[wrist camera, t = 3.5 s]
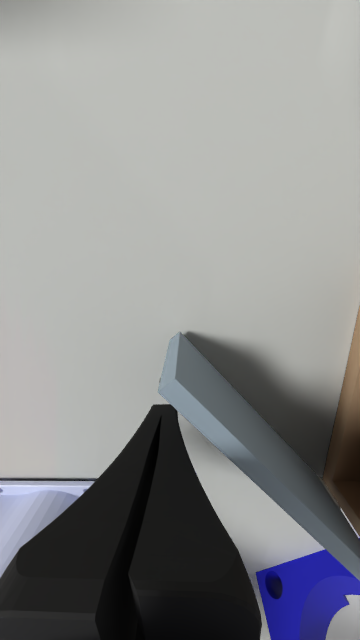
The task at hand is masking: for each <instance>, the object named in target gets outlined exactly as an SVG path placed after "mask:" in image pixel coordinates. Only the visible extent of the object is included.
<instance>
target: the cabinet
mask: <svg viewBox="0 0 360 640" xmlns="http://www.w3.org/2000/svg"><path fill="white" fill-rule="evenodd" d="M323 481H324V482H325V484H326V485H327V487H328V488H329V490H330V491H331V493H332V495H333V496H334V498H335V499H336V501H337V502H338V504H339V505H340V507H341V508H342V510H343V512H344V513H345V515H346V516H347V518H348V519H349V521H350V522H351V524H352V525H353V527H354V529H355V530H356V532H357V533H358V535H359V536H360V307H359V312H358V316H357V321H356V325H355V330H354V335H353V339H352V344H351V349H350V353H349V358H348V363H347V367H346V372H345V377H344V381H343V386H342V390H341V395H340V400H339V404H338V409H337V414H336V418H335V423H334V428H333V432H332V437H331V442H330V446H329V451H328V456H327V460H326V465H325V469H324V474H323Z"/></svg>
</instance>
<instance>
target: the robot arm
mask: <svg viewBox="0 0 360 640" xmlns="http://www.w3.org/2000/svg"><path fill="white" fill-rule="evenodd" d="M261 626H262V622H261V614H260V610H259V607H258V603H257V599H256V596H255V593H254V590H253V587H252V584H251V582H250V579H249V577H248V574H247V571H246V569H245V566H244V564H243V561H242V559H241V556H240V554H239V551H238V549H237V548H236V546H235V544H234V543H233V541H232V539H231V538H230V536H229V535H228V533H227V531H226V530H225V528H224V526H223V525H222V523H221V521H220V519H219V518H218V516H217V514H216V512H215V510H214V509H213V507H212V505H211V503H210V501H209V499H208V497H207V495H206V493H205V491H204V489H203V487H202V485H201V483H200V481H199V479H198V477H197V475H196V473H195V470H194V468H193V466H192V463H191V461H190V458H189V456H188V453H187V450H186V447H185V444H184V441H183V438H182V434H181V431H180V427H179V423H178V413H177V410H176V409H175V408H174V407H173V406H172V405H171V404H162V405H153V406H152V407H151V409H150V411H149V413H148V414H147V416H146V418H145V419H144V421H143V422H142V424H141V425H140V427H139V428H138V430H137V431H136V433H135V434H134V436H133V437H132V438H131V440H130V441H129V442H128V444H127V445H126V446H125V448H124V449H123V450H122V452H121V453H120V454H119V455H118V457H117V458H116V459H115V460H114V461H113V462H112V464H111V465H110V466H109V467H108V468H107V469H106V470H105V472H104V473H103V474H102V475H101V476H100V477H99V478H98V479H97V480H96V481H0V640H260V634H261Z"/></svg>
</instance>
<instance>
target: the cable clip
mask: <svg viewBox="0 0 360 640" xmlns="http://www.w3.org/2000/svg"><path fill="white" fill-rule="evenodd" d="M359 539H360V538H359ZM256 576H257V580H258V585H259V589H260V593H261V598H262V602H263V606H264V611H265V615H266V620H267V624H268V628H269V633H270V637H271V640H325V639H326V633H327V629H328V626H329V624H330V621H331V620H332V618H333V616H334V615H335V614H336V612H337V611H339V610H340V609H341V608H342V607H344V606H346V605H349V602H348V600H347V598H346V596H345V595H351V594H353V595H360V581H359V580H358V579H357V578H356V577H355V576H354V575H353V574H352V573H351V572H350V571H348V570H347V569H346V568H345V567H344V566H343V565H342V564H341V563H340V562H339V561H338V560H337V559H336V558H335V557H333V556H332V555H331V554H330V553H329V552H328V551H327V550H326V549H325V550H322V551H319V552H316V553H313V554H310V555H307V556H304V557H301V558H298V559H295V560H292V561H289V562H286V563H283V564H280V565H277V566H274V567H271V568H268V569H265V570H262V571H259V572H256Z"/></svg>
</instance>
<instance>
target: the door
mask: <svg viewBox="0 0 360 640" xmlns="http://www.w3.org/2000/svg"><path fill="white" fill-rule="evenodd" d="M158 393H159V394H160V395H161V396H162V397H163V398H165V399H166V400H167V401H168V402H169V403H170V404H171V405H172V406H173V407H174V408H175V409H176V410H177V411H178V412H179V413H181V414H182V415H183V416H184V417H185V418H186V419H187V420H188V421H189V422H190V423H191V424H192V425H193V426H194V427H196V428H197V429H198V430H199V431H200V432H201V433H202V434H203V435H204V436H205V437H206V438H207V439H208V440H209V441H210V442H212V443H213V444H214V445H215V446H216V447H217V448H218V449H219V450H220V451H221V452H222V453H223V454H224V455H225V456H227V457H228V458H229V459H230V460H231V461H232V462H233V463H234V464H235V465H236V466H237V467H238V468H239V469H240V470H242V471H243V472H244V473H245V474H246V475H247V476H248V477H249V478H250V479H251V480H252V481H253V482H254V483H255V484H256V485H258V486H259V487H260V488H261V489H262V490H263V491H264V492H265V493H266V494H267V495H268V496H269V497H270V498H271V499H273V500H274V501H275V502H276V503H277V504H278V505H279V506H280V507H281V508H282V509H283V510H284V511H285V512H286V513H287V514H289V515H290V516H291V517H292V518H293V519H294V520H295V521H296V522H297V523H298V524H299V525H300V526H301V527H302V528H304V529H305V530H306V531H307V532H308V533H309V534H310V535H311V536H312V537H313V538H314V539H315V540H316V541H317V542H319V543H320V544H321V545H322V546H323V547H324V548H325V549H326V550H327V551H328V552H329V553H330V554H331V555H332V556H333V557H335V558H336V559H337V560H338V561H339V562H340V563H341V564H342V565H343V566H344V567H345V568H346V569H347V570H348V571H350V572H351V573H352V574H353V575H354V576H355V577H356V578H357V579H358V580H359V581H360V539H359V538H358V537H357V535H356V534H355V532H354V530H353V529H352V527H351V526H350V524H349V523H348V521H347V520H346V518H345V516H344V515H343V513H342V512H341V510H340V505H339V504H338V502H337V501H336V499H335V498H334V496H333V495H332V493H331V492H330V490H329V488H328V487H327V485H326V484H325V482H324V481H323V479H322V478H321V477H319V476H317V475H316V474H315V473H314V471H313V470H312V469H311V468H310V467H309V466H308V465H307V464H306V463H305V462H304V461H303V460H302V459H301V458H300V457H299V456H298V455H297V454H296V453H295V452H294V450H293V449H292V448H291V447H290V446H289V445H288V444H287V443H286V442H285V441H284V440H283V439H282V438H281V437H280V436H279V435H278V434H277V433H276V432H275V431H274V430H273V428H272V427H271V426H270V425H269V424H268V423H267V422H266V421H265V420H264V419H263V418H262V417H261V416H260V415H259V414H258V413H257V412H256V411H255V410H254V409H253V408H252V406H251V405H250V404H249V403H248V402H247V401H246V400H245V399H244V398H243V397H242V396H241V395H240V394H239V393H238V392H237V391H236V390H235V389H234V388H233V387H232V386H231V384H230V383H229V382H228V381H227V380H226V379H225V378H224V377H223V376H222V375H221V374H220V373H219V372H218V371H217V370H216V369H215V368H214V367H213V366H212V365H211V364H210V362H209V361H208V360H207V359H206V358H205V357H204V356H203V355H202V354H201V353H200V352H199V351H198V350H197V349H196V348H195V347H194V346H193V345H192V344H191V343H190V342H189V340H188V339H187V338H186V337H185V336H184V335H183V334H182V333H181V332H179V333H177V334H176V335H175V336H174V337H173V338H172V339H170V341H169V346H168V350H167V354H166V359H165V363H164V367H163V372H162V376H161V378H160V384H159V389H158Z"/></svg>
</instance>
